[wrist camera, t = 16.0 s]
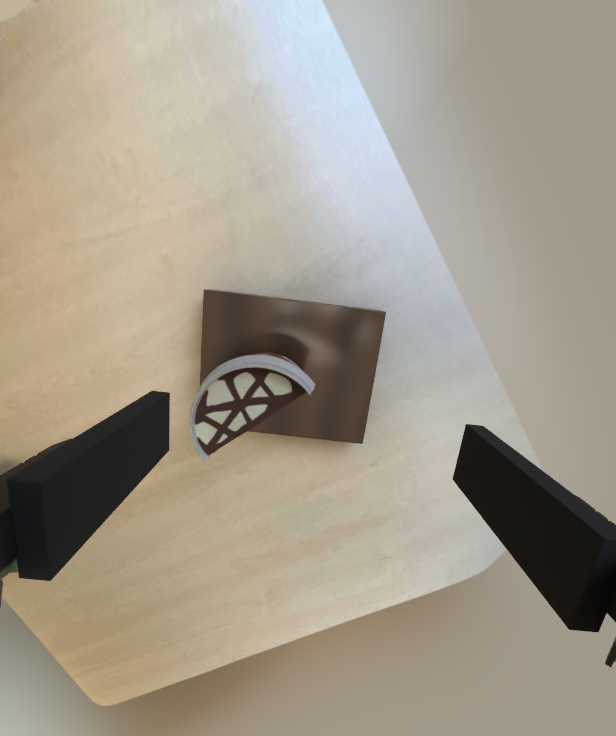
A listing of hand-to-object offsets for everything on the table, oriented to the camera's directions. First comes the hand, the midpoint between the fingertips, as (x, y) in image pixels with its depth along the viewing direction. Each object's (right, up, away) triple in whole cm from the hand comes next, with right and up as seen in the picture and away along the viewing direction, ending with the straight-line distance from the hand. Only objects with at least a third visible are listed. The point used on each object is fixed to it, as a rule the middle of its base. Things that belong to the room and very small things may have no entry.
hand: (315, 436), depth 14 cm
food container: (-7, +3, +22) cm, 23 cm away
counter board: (-3, +3, +25) cm, 25 cm away
